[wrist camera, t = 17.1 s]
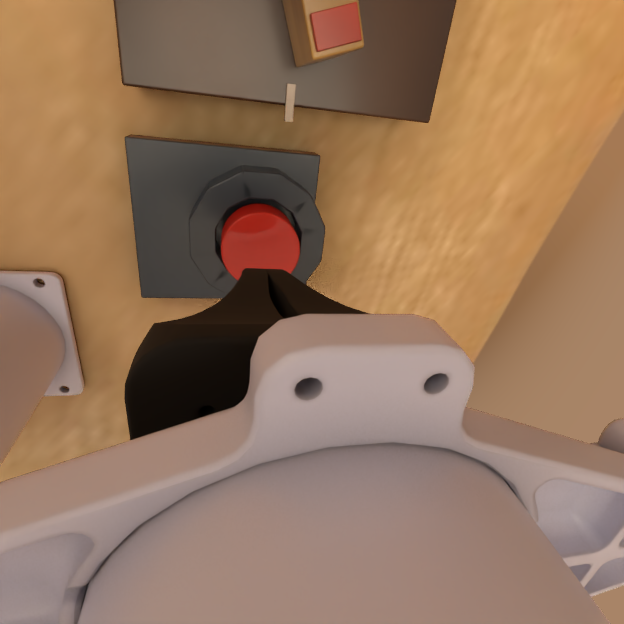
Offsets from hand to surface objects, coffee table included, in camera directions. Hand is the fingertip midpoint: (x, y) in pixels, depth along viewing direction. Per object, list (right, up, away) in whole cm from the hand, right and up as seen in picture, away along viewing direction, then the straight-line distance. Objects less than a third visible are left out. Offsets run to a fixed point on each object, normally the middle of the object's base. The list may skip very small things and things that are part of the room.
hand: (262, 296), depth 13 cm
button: (-1, +3, +6) cm, 7 cm away
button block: (-3, +4, +8) cm, 10 cm away
